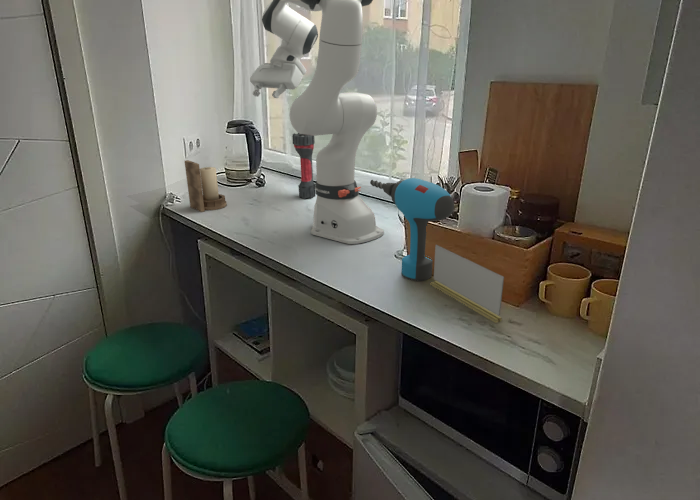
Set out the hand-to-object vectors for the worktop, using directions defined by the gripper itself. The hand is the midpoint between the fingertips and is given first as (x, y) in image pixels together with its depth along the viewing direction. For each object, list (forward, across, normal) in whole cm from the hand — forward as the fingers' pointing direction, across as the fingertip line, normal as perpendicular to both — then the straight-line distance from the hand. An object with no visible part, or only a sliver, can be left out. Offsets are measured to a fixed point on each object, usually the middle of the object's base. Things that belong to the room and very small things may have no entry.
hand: (264, 96), depth 173 cm
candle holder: (+38, -9, +12) cm, 41 cm away
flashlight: (+19, +10, +31) cm, 38 cm away
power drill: (+42, +72, +8) cm, 84 cm away
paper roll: (+38, -9, +11) cm, 40 cm away
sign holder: (+47, +91, +4) cm, 102 cm away
